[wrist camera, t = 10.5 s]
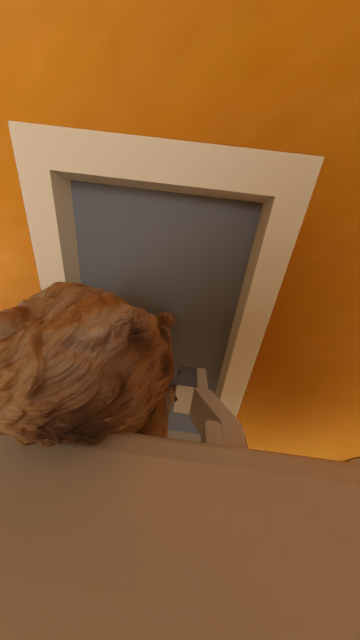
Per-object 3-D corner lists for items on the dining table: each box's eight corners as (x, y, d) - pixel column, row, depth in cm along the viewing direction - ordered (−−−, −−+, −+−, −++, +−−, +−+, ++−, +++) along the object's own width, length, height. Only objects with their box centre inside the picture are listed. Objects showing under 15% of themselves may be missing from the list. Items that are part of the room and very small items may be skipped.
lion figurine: (81, 267, 11) (-231, 345, 3) (168, 254, 11) (109, 301, 2) (137, 431, 17) (90, 617, 8) (195, 427, 16) (206, 618, 8)
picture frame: (293, 176, 10) (324, 156, 7) (216, 437, 18) (219, 465, 16) (50, 148, 10) (7, 120, 8) (87, 418, 18) (71, 444, 16)
